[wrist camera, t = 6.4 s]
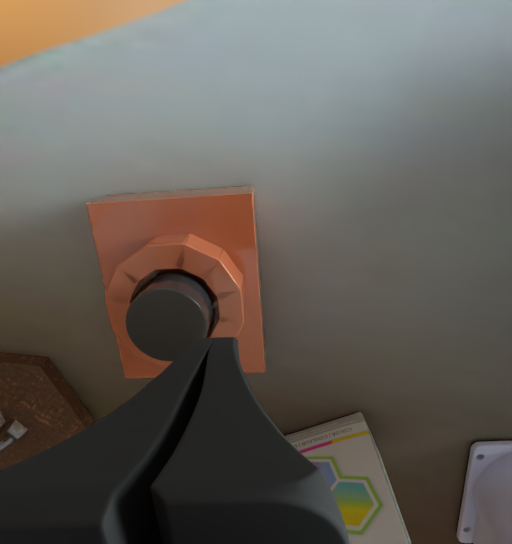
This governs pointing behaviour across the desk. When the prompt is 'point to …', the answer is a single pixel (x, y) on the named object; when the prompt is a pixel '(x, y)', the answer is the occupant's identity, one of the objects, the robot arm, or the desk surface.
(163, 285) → the dark charcoal cylinder
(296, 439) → the ink box
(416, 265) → the desk surface
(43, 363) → the robot figurine
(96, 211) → the button housing
